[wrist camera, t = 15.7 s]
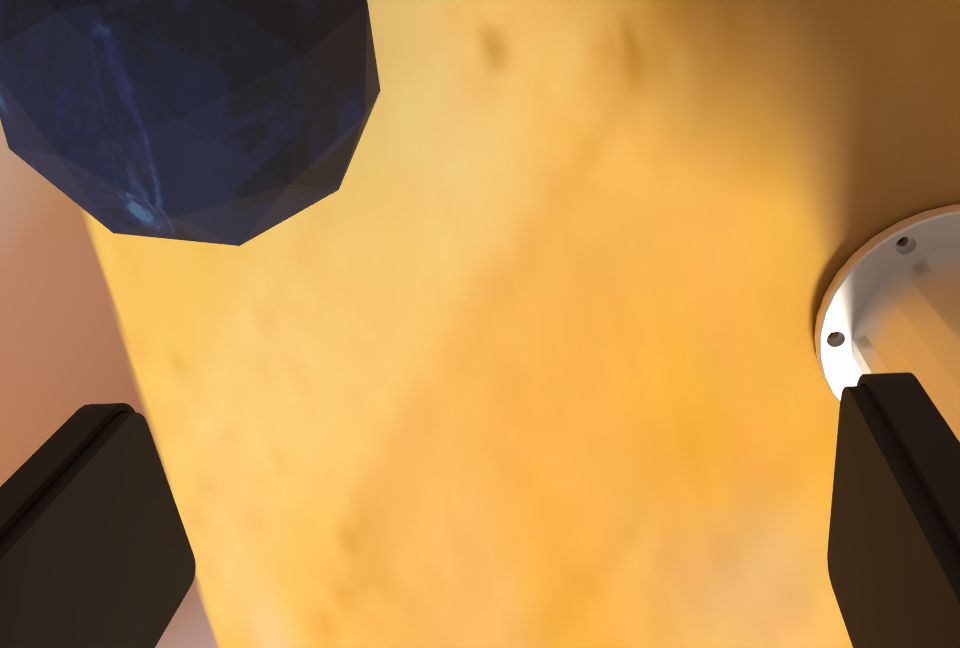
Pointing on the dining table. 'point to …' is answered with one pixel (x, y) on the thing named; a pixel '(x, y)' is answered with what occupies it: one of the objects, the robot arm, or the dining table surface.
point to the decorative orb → (188, 107)
